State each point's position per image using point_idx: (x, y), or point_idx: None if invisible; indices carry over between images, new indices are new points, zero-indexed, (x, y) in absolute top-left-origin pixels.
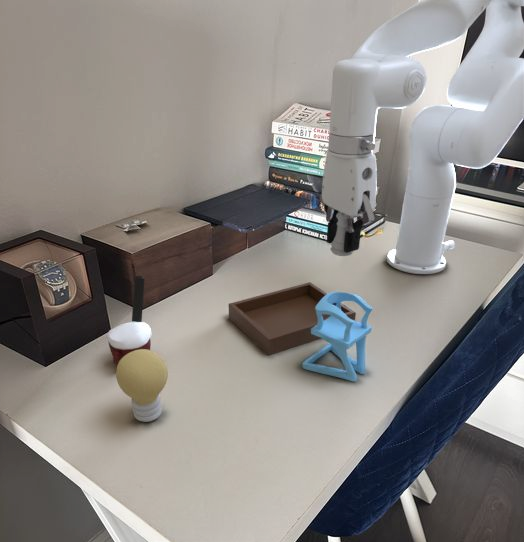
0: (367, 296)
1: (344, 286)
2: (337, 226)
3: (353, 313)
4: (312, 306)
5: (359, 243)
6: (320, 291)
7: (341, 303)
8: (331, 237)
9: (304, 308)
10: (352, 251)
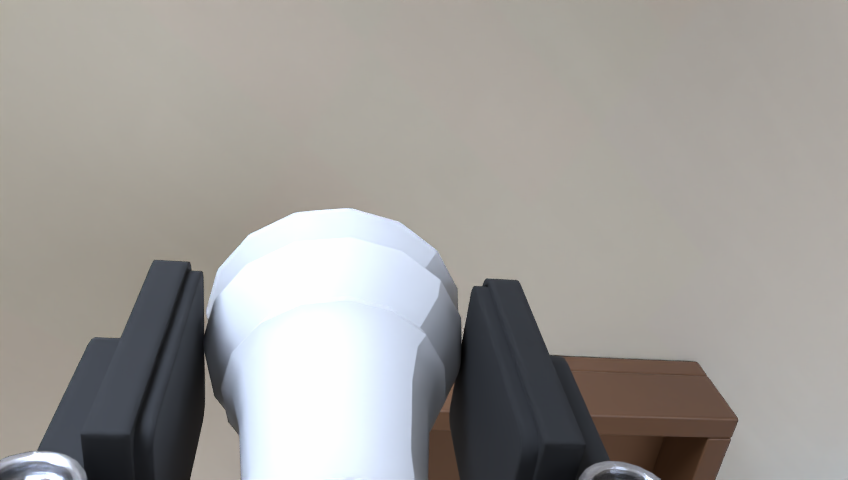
0: (529, 49)
1: (316, 71)
2: (170, 471)
3: (732, 431)
4: (442, 434)
5: (531, 311)
6: (436, 426)
7: (621, 420)
8: (193, 437)
9: (433, 473)
10: (448, 283)
